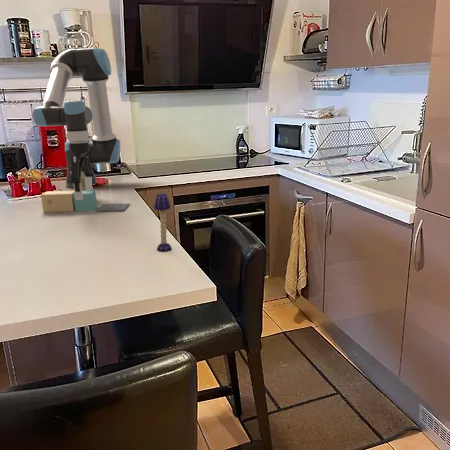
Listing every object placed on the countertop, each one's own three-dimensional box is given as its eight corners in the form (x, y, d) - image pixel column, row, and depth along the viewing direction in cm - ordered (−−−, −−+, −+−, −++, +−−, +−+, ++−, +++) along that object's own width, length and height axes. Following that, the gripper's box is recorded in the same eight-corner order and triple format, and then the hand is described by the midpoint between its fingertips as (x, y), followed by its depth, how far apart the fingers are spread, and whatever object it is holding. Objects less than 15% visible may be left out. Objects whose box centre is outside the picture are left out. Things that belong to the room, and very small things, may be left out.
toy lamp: (175, 247, 138) (171, 192, 133) (170, 252, 133) (166, 196, 129) (160, 246, 139) (156, 192, 134) (154, 252, 135) (150, 195, 130)
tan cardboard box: (49, 208, 190) (46, 191, 188) (79, 207, 190) (77, 190, 188) (43, 212, 184) (40, 194, 182) (74, 211, 184) (72, 193, 182)
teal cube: (80, 207, 190) (78, 190, 188) (97, 207, 190) (95, 190, 188) (75, 211, 184) (73, 194, 182) (93, 210, 184) (91, 193, 182)
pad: (102, 205, 192) (102, 203, 192) (129, 204, 192) (129, 203, 192) (95, 212, 181) (95, 210, 181) (123, 211, 181) (123, 209, 181)
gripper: (79, 139, 191) (84, 190, 197) (57, 145, 167) (64, 203, 173) (97, 139, 191) (102, 189, 197) (78, 145, 167) (84, 202, 173)
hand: (84, 196), depth 185 cm, fingers open, 13 cm apart
